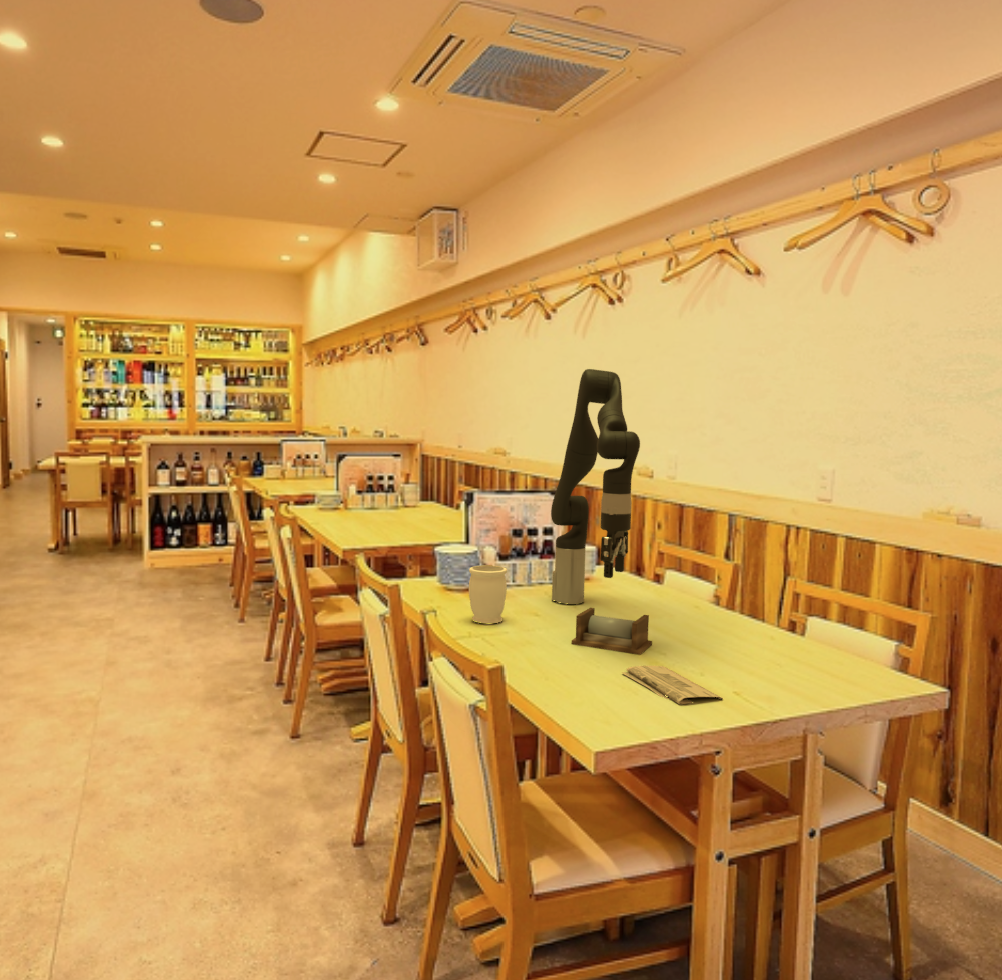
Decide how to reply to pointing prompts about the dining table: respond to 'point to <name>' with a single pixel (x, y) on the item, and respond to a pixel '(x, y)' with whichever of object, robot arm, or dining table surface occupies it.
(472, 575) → the jar
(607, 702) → the dining table surface
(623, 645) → the holder
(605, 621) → the cylinder
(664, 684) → the newspaper
